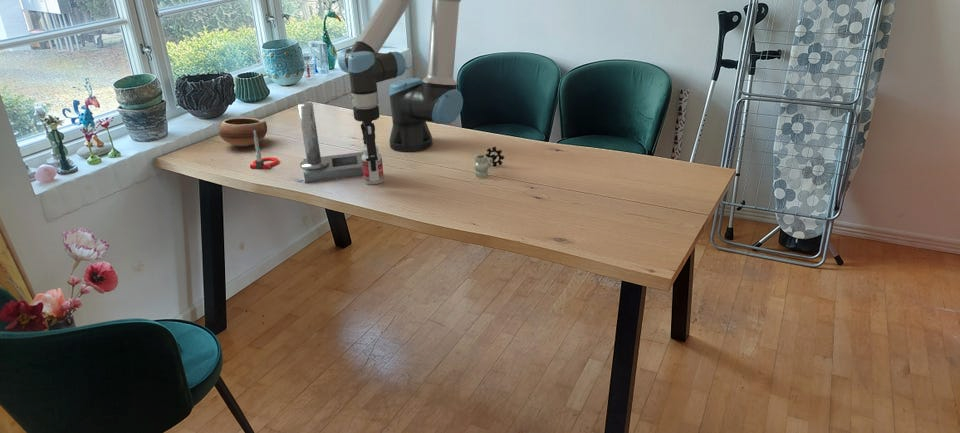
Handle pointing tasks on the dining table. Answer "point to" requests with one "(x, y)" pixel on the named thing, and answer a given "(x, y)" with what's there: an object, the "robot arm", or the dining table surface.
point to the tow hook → (260, 161)
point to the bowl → (242, 131)
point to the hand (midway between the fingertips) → (372, 173)
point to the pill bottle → (366, 167)
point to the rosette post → (327, 165)
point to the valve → (487, 162)
